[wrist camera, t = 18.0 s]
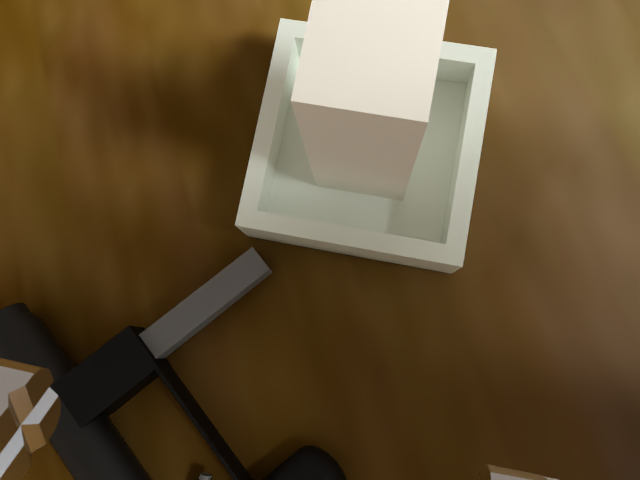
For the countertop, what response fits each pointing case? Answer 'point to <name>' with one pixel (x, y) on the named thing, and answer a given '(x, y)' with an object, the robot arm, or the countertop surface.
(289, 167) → the tray
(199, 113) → the countertop surface
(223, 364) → the countertop surface
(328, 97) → the cream block
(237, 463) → the toy submachine gun
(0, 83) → the countertop surface
